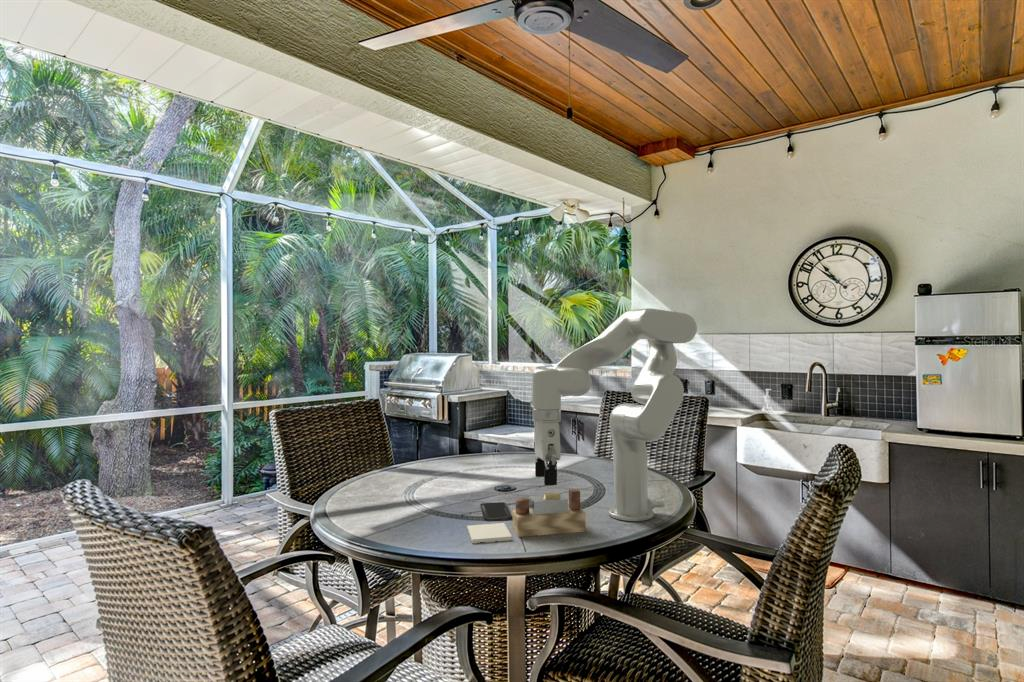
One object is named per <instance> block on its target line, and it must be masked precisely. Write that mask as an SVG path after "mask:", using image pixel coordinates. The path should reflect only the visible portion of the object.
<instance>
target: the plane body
mask: <svg viewBox="0 0 1024 682" xmlns="http://www.w3.org/2000/svg"><path fill="white" fill-rule="evenodd" d="M586 524H587V523H586V512H585V510H583V509H582V508H581V490H579V488H571V489H568V513H558V514H545V515H534V514H533V513H532V512H531V510H530V507H529V497H517V498H515V509H512V530H513V531H514V533H515V535H516V534H517V535H516V536H517V537H518V538H521V537H522V538H523V537H524V536H525V537H534V535H535V537H536V535H537V536H546V535H547V536H548V535H549V534H550V535H559V534H570V533H571V534H573V533H583V532H587V531H586V529H587V528H586Z"/></svg>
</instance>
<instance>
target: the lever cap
mask: <svg viewBox="0 0 1024 682" xmlns="http://www.w3.org/2000/svg"><path fill="white" fill-rule="evenodd" d="M528 499H529V508H530V510H531V512H532V513H533V514H534V515H545V514H558V513H568V506H569V498H567V497H566V496H565V495H564V494H563V493H559V491H557V492H543V495H542V494H541V495H540V494H539V495H529V497H528Z"/></svg>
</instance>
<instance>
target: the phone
mask: <svg viewBox="0 0 1024 682" xmlns="http://www.w3.org/2000/svg"><path fill="white" fill-rule="evenodd" d="M479 506H480V510H482V511H481V514H482V517H483V520H484V521H486V520H493V521H504V520H503V519H509V520H511V518H512V519H513V514H511V511H510V509H509V506H508V504H507V503H506V502H505V501H504V502H502V501H501V502H482V503H480V505H479Z"/></svg>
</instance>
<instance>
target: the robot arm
mask: <svg viewBox="0 0 1024 682" xmlns="http://www.w3.org/2000/svg"><path fill="white" fill-rule="evenodd" d="M696 322H697V321H695V318H693V316H691V315H689V314H687V313H685V312H679V311H672V310H671V311H670V310H665V309H658V308H650V307H649V308H638V309H637V308H635V309H629V310H626V311H625V312H623V313H622V314H621V315H619V317H617V318H616V319H614V321H613V322H612V323H611V324H609V326H608V327H606V328H605V329H604V330H603V331H602V332H601V333H600V334H599V335H598V336H597V337H595V338H594V339H592V340H590V341H589V342H586V343H585V344H584V345H582V346H580V347H578V348H576V349H574V350H573V351H571V352H570V353H569V354H567V355H566V356H565V357H563V359H561V360H560V361H559V362H558V363H557V364H555V365H554V366H553V367H552V368H536V369H535V370H533V373H532V393H531V394H532V398H531V399H532V403H531V405H532V406H531V408H532V409H531V411H532V413H531V417H532V419H531V421H532V422H535V423H534V425H535V426H534V446H533V447H534V454H535V463H534V464H535V467H534V469H535V471H534V472H535V473H534V474H535V477H536V478H542V477H543V478H544V479H543V483H544V486H557V484H558V461H560V460H561V459H562V458H561V435H560V433H561V432H560V424H559V423H560V422H561V419H562V417H561V415H562V396H570V397H581V396H584V395H586V394H588V393H589V391H590V390H591V389H592V386H593V379H592V377H591V375H590V374H589V373H588V372H590V371H592V370H594V369H597V368H601V367H605V366H608V365H610V364H613V363H614V362H616V361H618V360H619V359H620V358H622V356H623V355H624V354H625V353H626V352H627V351H629V349H630V348H632V347H633V346H634V345H635V344H636V343H637V342H639V341H640V340H647V343H648V348H649V352H648V356H647V358H646V361H645V363H644V364H643V365H642V368H641V369H640V371H639V373H638V374H637V376H636V378H635V380H634V382H633V384H632V386H631V390H630V391H631V392H630V393H631V398H632V399H633V400H634V401H635V402H636V403H638V404H636V403H631V402H630V403H625V402H624V403H620V404H618V405H616V406H615V407H614V408H613V409H612V411H611V412H610V415H609V420H608V421H609V422H608V423H609V429H610V435H611V439H612V450H613V451H612V452H613V453H612V454H613V455H612V456H613V458H612V459H613V462H612V464H613V506H611V507H610V508H609V509H608V515H609V516H610V517H611V518H614V519H616V520H621V521H626V522H627V521H628V522H643V521H648V520H652V518H654V517H655V516H654V515H655V512H654V509H655V508H665V501H664V500H662V499H661V500H656V499H650V498H649V482H648V480H649V478H648V475H649V474H648V472H649V471H648V469H649V468H648V450H647V449H648V448H647V446H646V443H648V442H649V443H652V442H656V441H658V440H660V439H661V438H662V437H663V436H664V435H665V433H666V431H667V430H668V428H670V427H669V426H670V424H671V422H672V421H673V419H674V417H675V416H676V414H677V412H678V410H679V408H680V406H681V405H682V402H683V399H684V394H685V393H684V392H685V391H684V384H683V382H682V381H681V379H680V378H679V377H678V376H677V375H674V372H675V371H676V369H677V364H678V356H677V353H676V350H675V345H674V344H687V343H689V342H690V341H692V340H693V339H694V338H695V337H696V334H697V331H698V329H697V328H698V325H697V323H696Z"/></svg>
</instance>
